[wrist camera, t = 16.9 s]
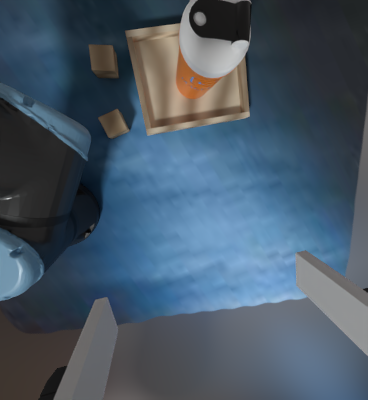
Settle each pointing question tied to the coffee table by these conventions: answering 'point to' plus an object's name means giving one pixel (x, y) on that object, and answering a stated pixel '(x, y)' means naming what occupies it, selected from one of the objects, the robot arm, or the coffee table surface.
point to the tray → (167, 89)
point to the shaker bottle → (211, 43)
